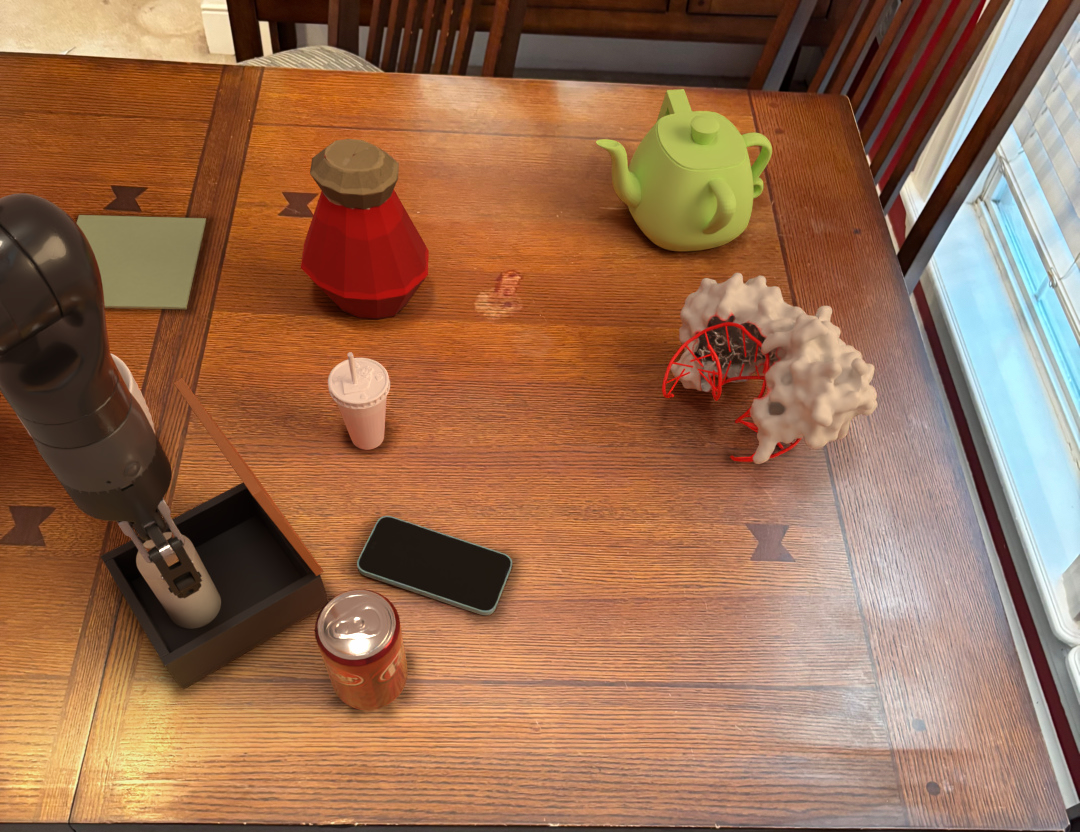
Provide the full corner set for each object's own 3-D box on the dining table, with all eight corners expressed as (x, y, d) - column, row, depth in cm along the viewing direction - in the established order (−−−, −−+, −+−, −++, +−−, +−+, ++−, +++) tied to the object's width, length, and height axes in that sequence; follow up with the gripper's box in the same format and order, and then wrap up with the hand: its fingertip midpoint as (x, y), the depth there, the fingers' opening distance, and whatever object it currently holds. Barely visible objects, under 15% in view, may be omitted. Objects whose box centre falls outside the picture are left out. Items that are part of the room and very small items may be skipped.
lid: (252, 495, 70) (261, 490, 70) (173, 382, 75) (181, 377, 75) (316, 576, 85) (323, 571, 85) (246, 477, 90) (253, 473, 90)
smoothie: (327, 442, 101) (307, 356, 89) (362, 405, 104) (348, 317, 92) (373, 468, 99) (359, 385, 87) (407, 430, 102) (399, 345, 90)
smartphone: (492, 615, 90) (353, 568, 91) (491, 620, 91) (354, 573, 92) (515, 556, 94) (381, 512, 95) (514, 561, 95) (382, 517, 96)
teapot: (770, 208, 126) (802, 114, 114) (705, 290, 117) (732, 197, 105) (654, 155, 130) (673, 59, 118) (582, 230, 121) (595, 135, 109)
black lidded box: (182, 690, 85) (164, 666, 80) (120, 584, 90) (99, 555, 85) (329, 603, 91) (320, 576, 85) (262, 509, 96) (251, 477, 91)
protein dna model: (661, 488, 109) (856, 512, 92) (600, 368, 99) (809, 369, 81) (735, 383, 118) (927, 386, 100) (687, 262, 107) (893, 243, 90)
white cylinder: (164, 629, 87) (130, 580, 78) (173, 583, 90) (141, 531, 81) (217, 628, 87) (189, 580, 79) (224, 583, 90) (198, 531, 81)
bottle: (289, 318, 110) (255, 178, 93) (332, 245, 117) (307, 103, 99) (411, 349, 108) (399, 213, 91) (447, 274, 115) (442, 135, 98)
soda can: (398, 634, 89) (389, 577, 79) (416, 700, 86) (408, 650, 76) (325, 652, 88) (306, 597, 78) (340, 721, 84) (322, 673, 74)
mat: (50, 307, 108) (49, 304, 108) (80, 217, 116) (79, 214, 116) (186, 309, 109) (185, 307, 109) (206, 220, 118) (205, 218, 117)
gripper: (14, 407, 68) (93, 521, 82) (93, 540, 62) (163, 638, 76) (110, 365, 70) (171, 482, 84) (193, 489, 65) (244, 592, 79)
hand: (167, 556), depth 80 cm, fingers open, 8 cm apart
